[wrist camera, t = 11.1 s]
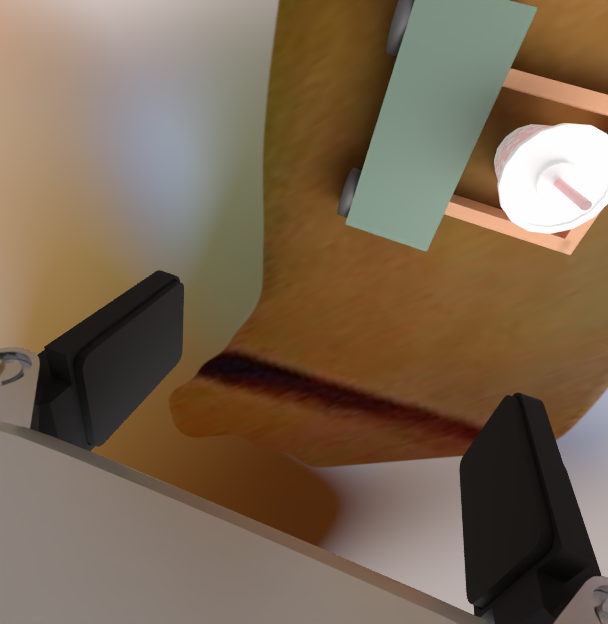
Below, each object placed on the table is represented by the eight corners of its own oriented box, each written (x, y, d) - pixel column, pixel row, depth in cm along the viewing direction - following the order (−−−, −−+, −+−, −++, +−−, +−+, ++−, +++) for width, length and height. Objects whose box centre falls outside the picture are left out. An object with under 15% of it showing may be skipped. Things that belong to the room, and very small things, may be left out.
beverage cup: (584, 174, 29) (682, 235, 18) (498, 210, 32) (533, 283, 20) (560, 94, 27) (654, 103, 16) (471, 140, 30) (494, 177, 18)
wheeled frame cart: (409, -13, 27) (405, -26, 23) (681, 57, 25) (719, 53, 21) (343, 207, 36) (334, 220, 32) (539, 272, 33) (550, 293, 30)
